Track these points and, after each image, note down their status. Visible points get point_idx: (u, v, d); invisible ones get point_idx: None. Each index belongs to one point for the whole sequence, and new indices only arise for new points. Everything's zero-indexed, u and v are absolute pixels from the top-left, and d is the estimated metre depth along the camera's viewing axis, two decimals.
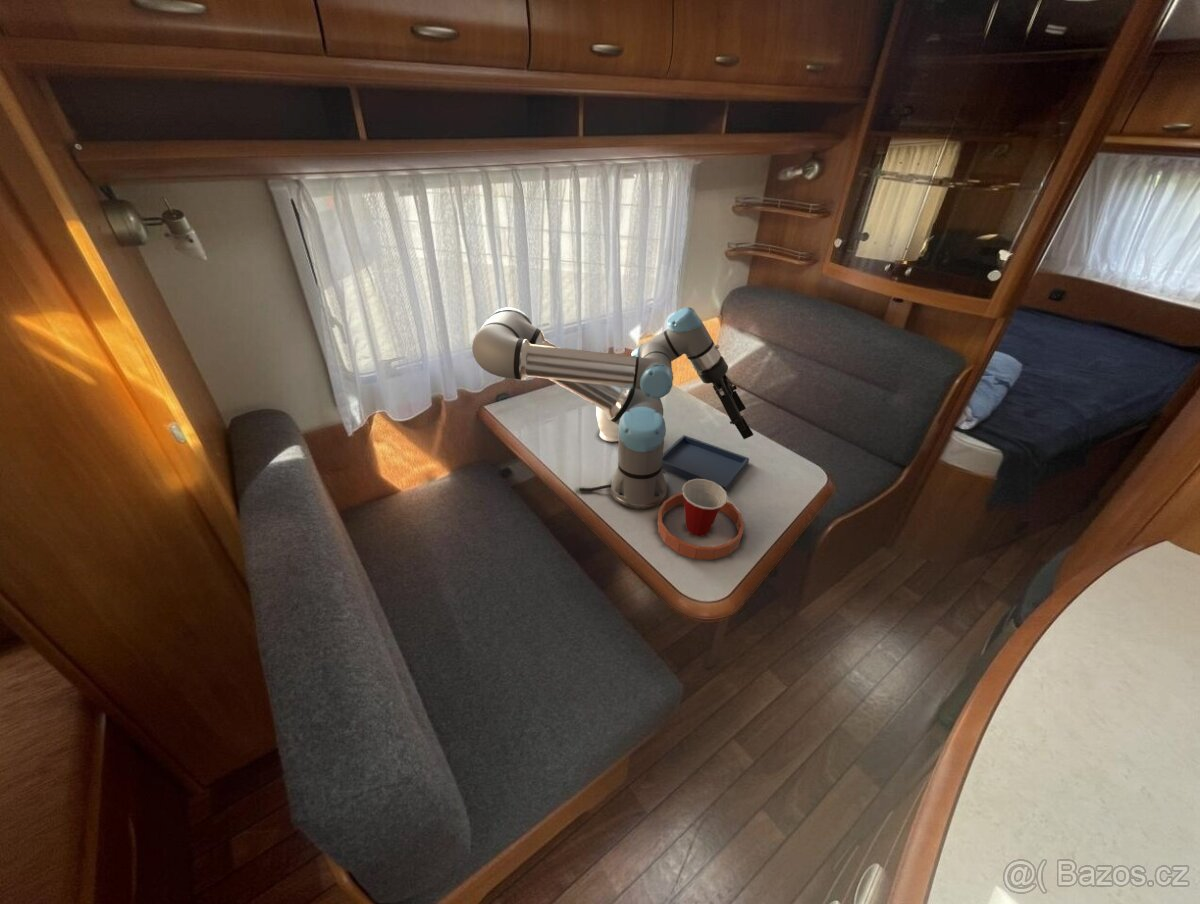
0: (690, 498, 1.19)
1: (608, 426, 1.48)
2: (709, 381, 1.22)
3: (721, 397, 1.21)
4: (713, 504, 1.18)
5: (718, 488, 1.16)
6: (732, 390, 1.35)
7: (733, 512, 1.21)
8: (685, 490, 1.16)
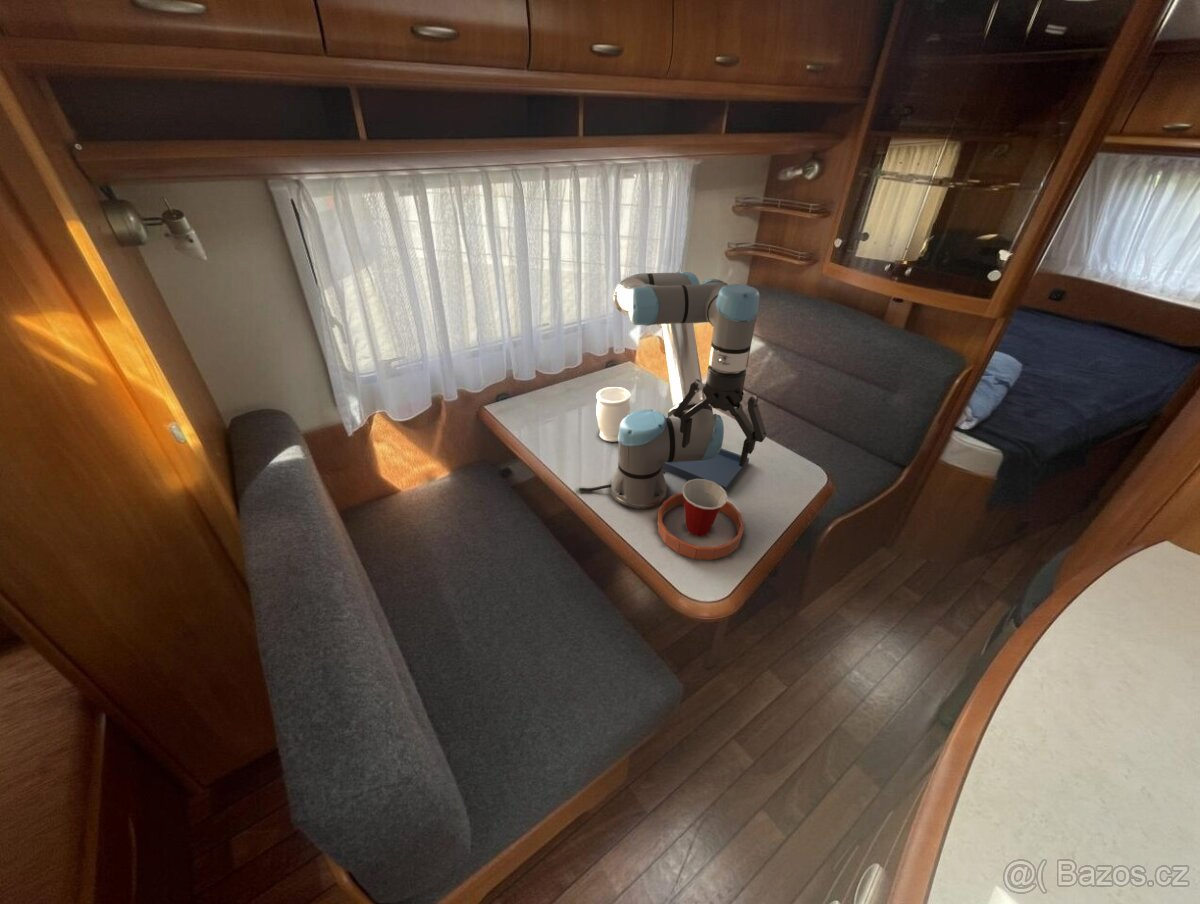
0: (690, 498, 1.19)
1: (608, 426, 1.48)
2: None
3: None
4: (713, 504, 1.18)
5: (718, 488, 1.16)
6: None
7: (733, 512, 1.21)
8: (685, 490, 1.16)
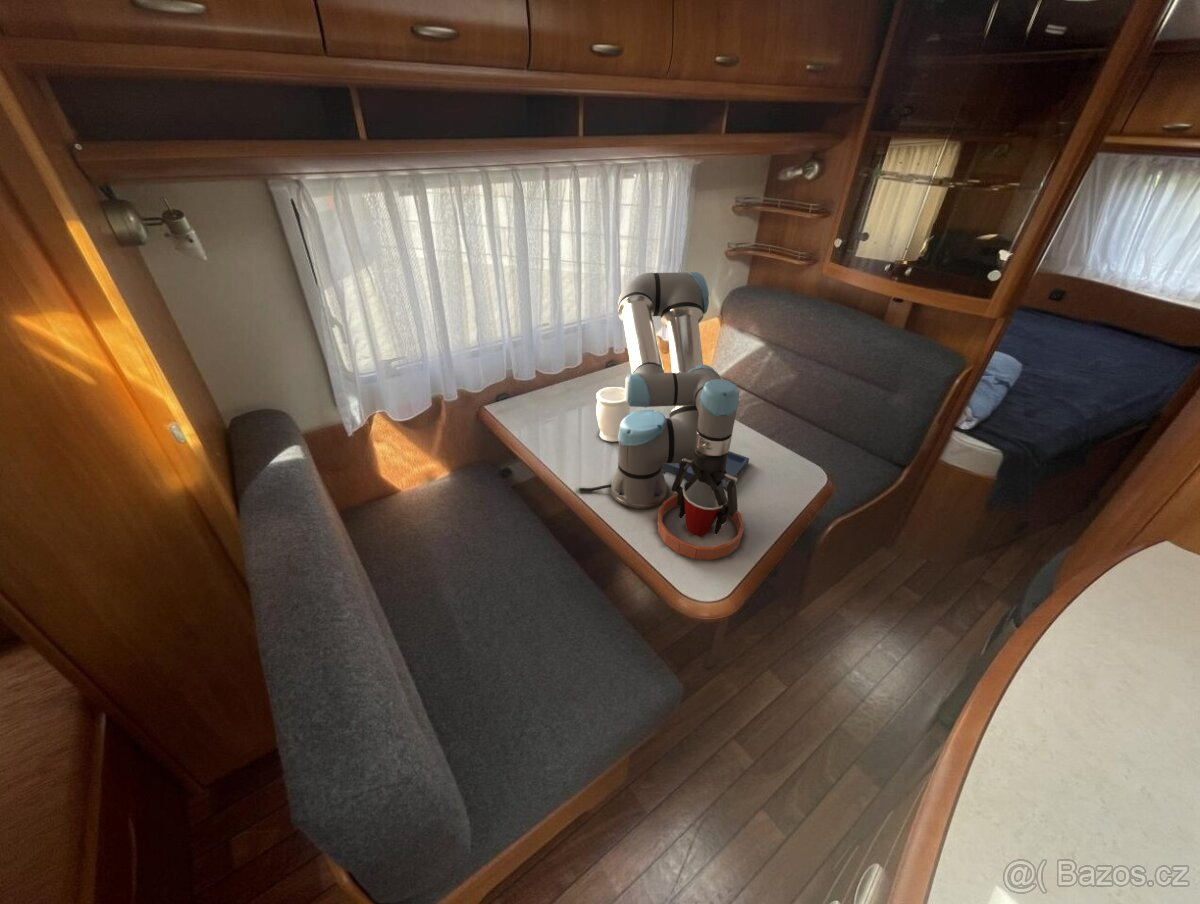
0: (690, 498, 1.19)
1: (608, 426, 1.48)
2: None
3: None
4: (713, 504, 1.18)
5: None
6: None
7: None
8: None
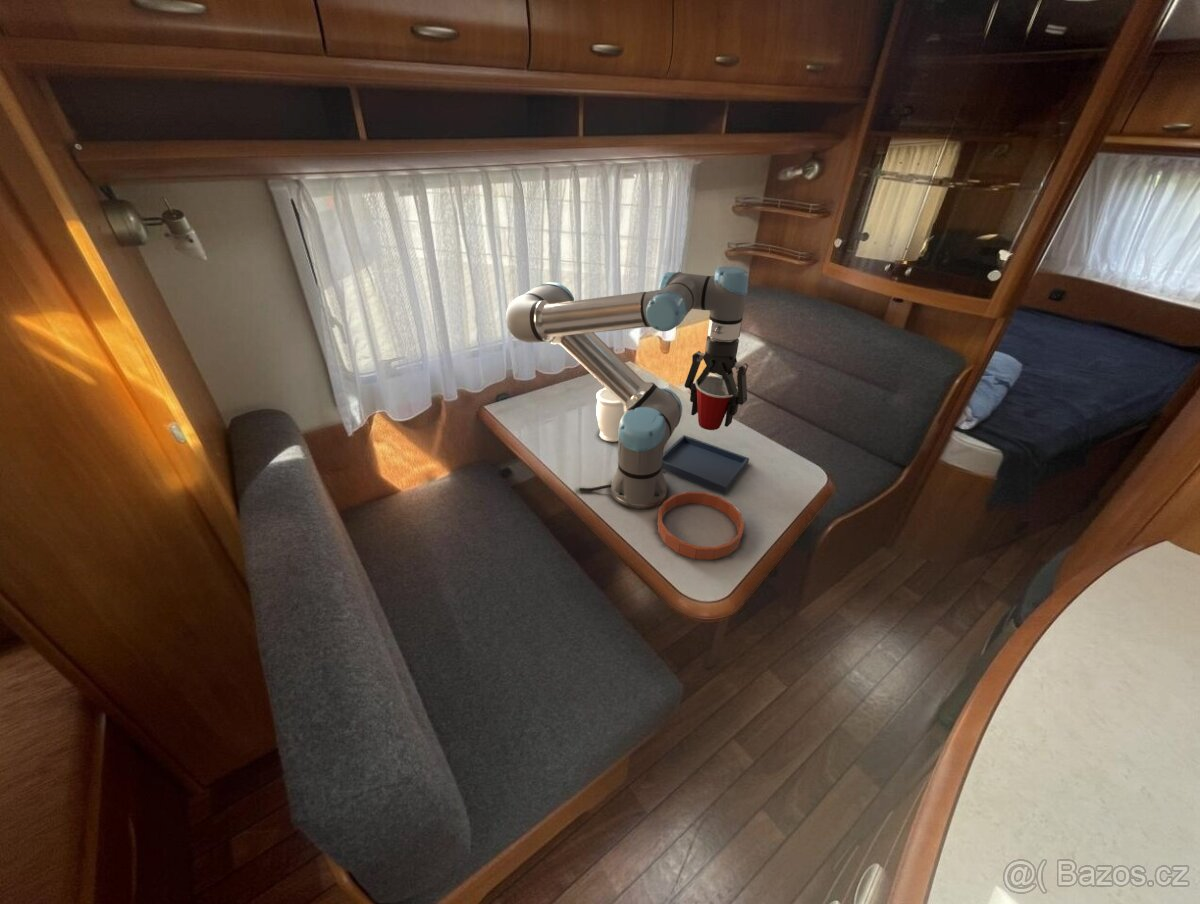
0: None
1: (608, 426, 1.48)
2: None
3: None
4: None
5: None
6: None
7: (733, 512, 1.21)
8: None
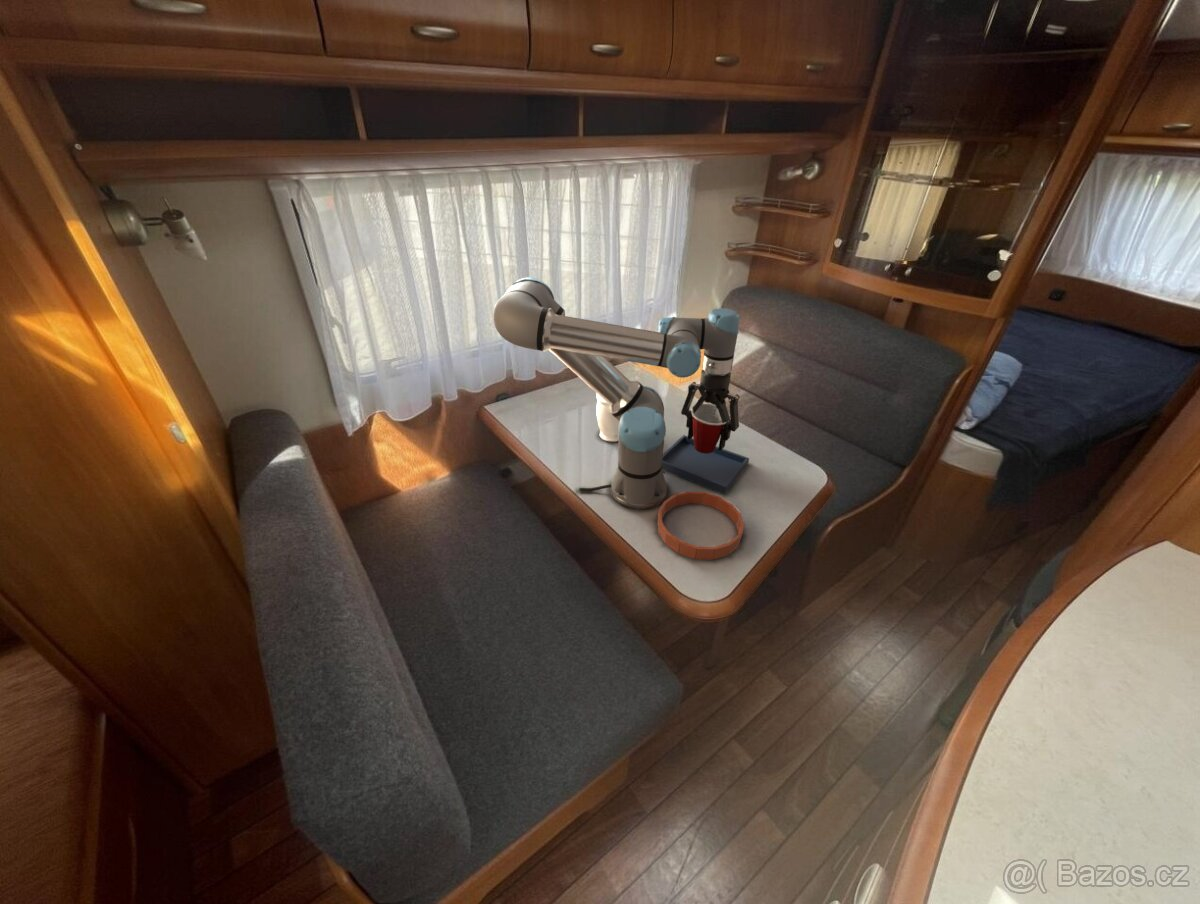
0: None
1: (608, 426, 1.48)
2: None
3: None
4: None
5: None
6: None
7: (733, 512, 1.21)
8: None
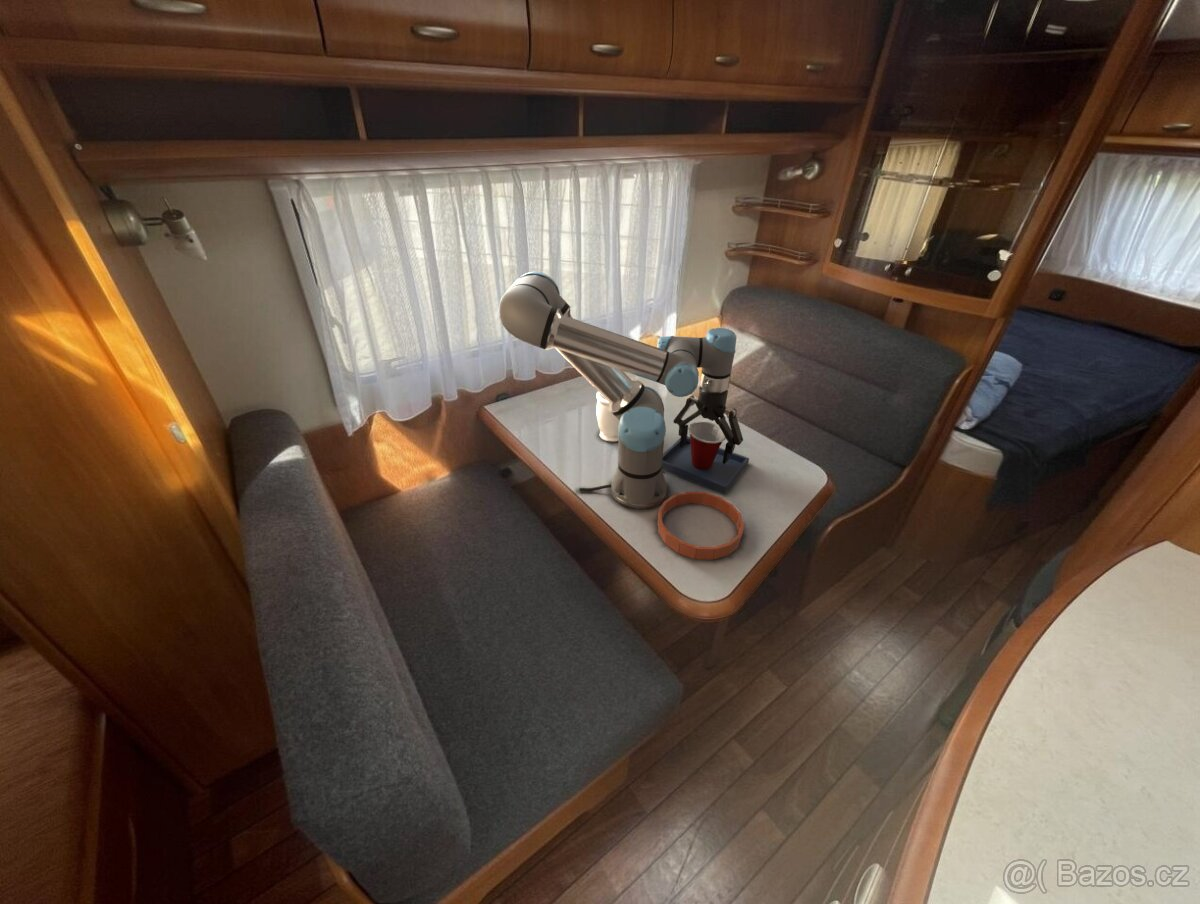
0: None
1: (608, 426, 1.48)
2: None
3: None
4: None
5: (719, 428, 1.37)
6: None
7: (733, 512, 1.21)
8: (691, 430, 1.37)
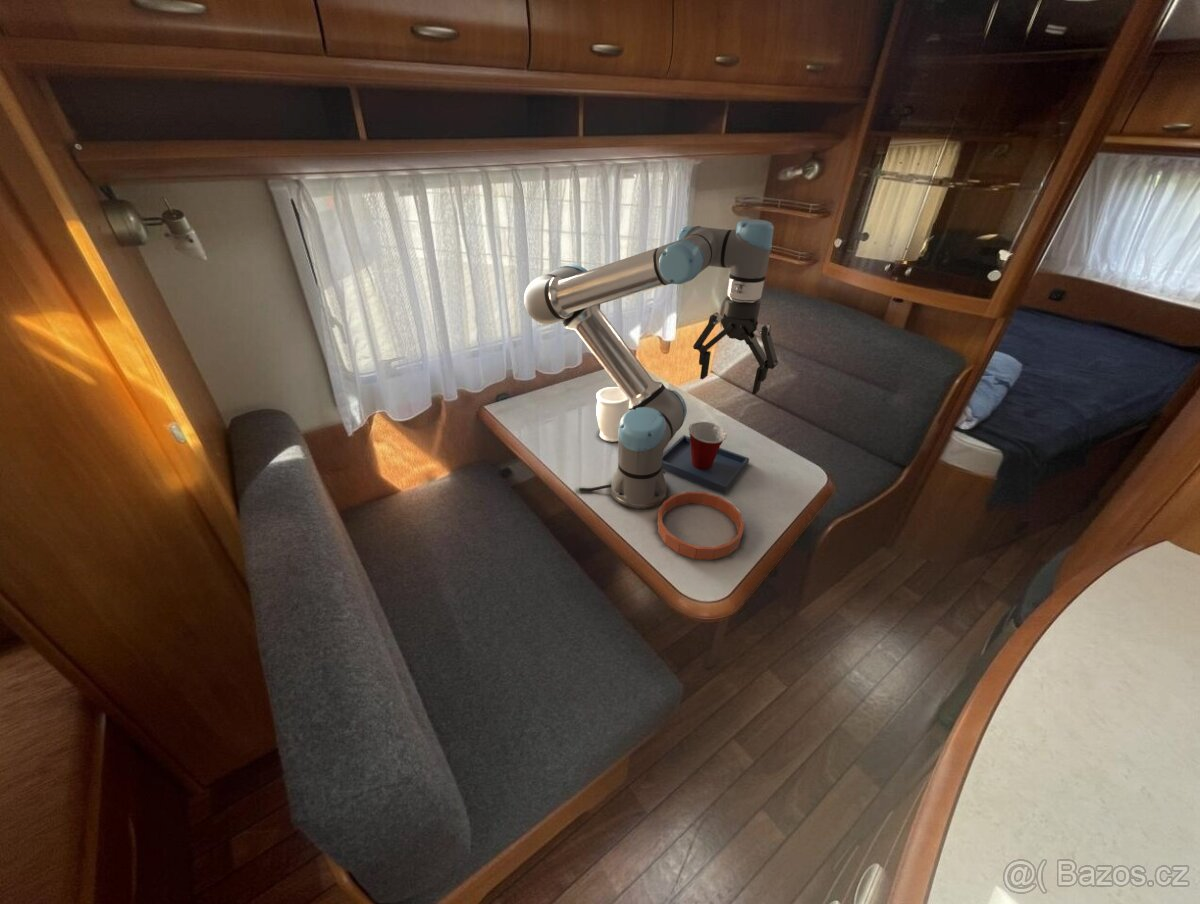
0: None
1: (608, 426, 1.48)
2: None
3: None
4: None
5: (719, 428, 1.37)
6: None
7: (733, 512, 1.21)
8: (691, 430, 1.37)
